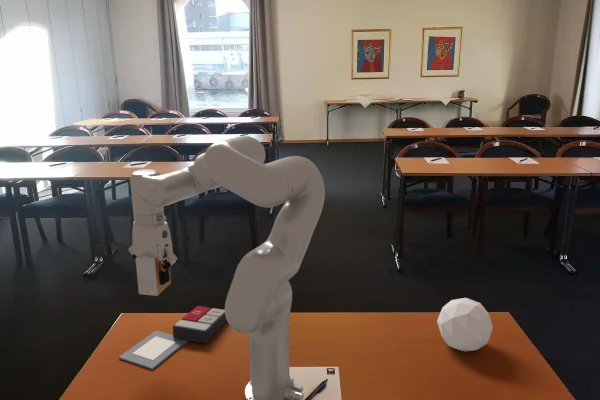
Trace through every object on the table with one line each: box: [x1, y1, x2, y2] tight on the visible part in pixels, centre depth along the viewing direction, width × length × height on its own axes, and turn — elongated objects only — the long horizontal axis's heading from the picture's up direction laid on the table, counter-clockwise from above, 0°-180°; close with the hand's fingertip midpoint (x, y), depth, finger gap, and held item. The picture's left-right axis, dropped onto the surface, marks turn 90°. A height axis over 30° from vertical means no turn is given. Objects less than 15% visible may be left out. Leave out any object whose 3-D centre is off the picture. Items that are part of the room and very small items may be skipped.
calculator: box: [172, 305, 228, 344], centre depth 145 cm, size 11×4×15 cm
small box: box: [135, 255, 172, 297], centre depth 128 cm, size 8×6×10 cm
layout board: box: [118, 330, 189, 371], centre depth 136 cm, size 12×15×1 cm
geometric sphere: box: [436, 297, 494, 352], centre depth 134 cm, size 14×15×15 cm
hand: (154, 279), depth 129 cm, fingers closed on small box, 6 cm apart
